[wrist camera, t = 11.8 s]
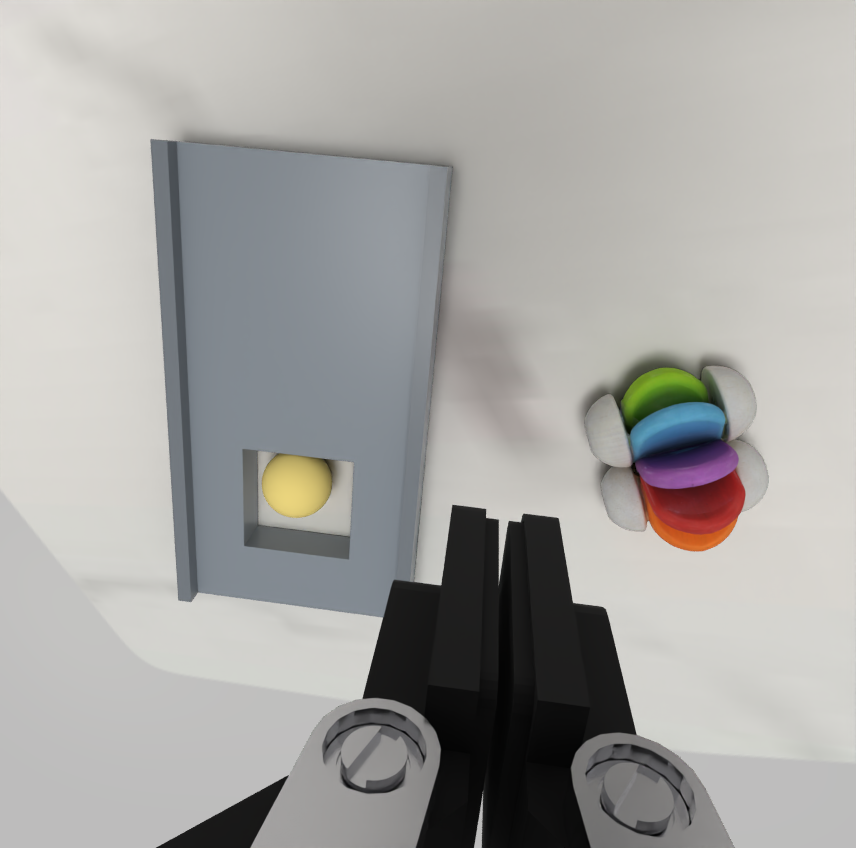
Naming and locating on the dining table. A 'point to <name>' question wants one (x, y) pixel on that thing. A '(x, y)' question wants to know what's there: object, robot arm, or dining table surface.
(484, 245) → the dining table surface
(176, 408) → the tray
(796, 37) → the dining table surface
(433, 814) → the robot arm
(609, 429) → the rainbow white-lobed toy
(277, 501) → the ball
